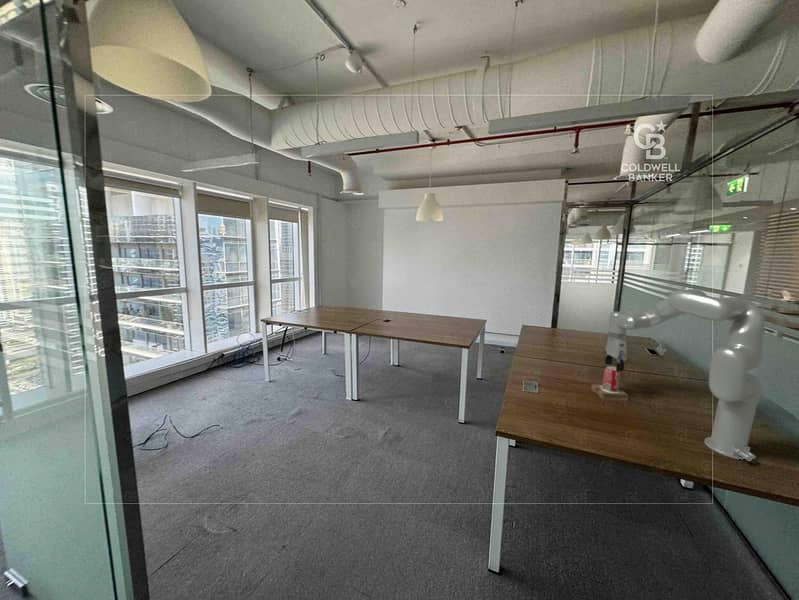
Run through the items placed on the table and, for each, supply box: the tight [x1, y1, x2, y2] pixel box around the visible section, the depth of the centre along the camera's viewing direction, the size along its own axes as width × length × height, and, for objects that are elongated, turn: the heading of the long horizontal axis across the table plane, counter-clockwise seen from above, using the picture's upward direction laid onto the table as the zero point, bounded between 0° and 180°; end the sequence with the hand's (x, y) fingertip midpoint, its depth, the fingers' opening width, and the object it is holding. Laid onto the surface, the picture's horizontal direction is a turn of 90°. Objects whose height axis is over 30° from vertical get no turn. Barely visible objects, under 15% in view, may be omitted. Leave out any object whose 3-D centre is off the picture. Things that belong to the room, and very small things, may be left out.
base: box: [590, 383, 630, 402], centre depth 162 cm, size 12×12×3 cm
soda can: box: [602, 365, 621, 392], centre depth 160 cm, size 7×7×12 cm
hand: (613, 367), depth 159 cm, fingers open, 9 cm apart
